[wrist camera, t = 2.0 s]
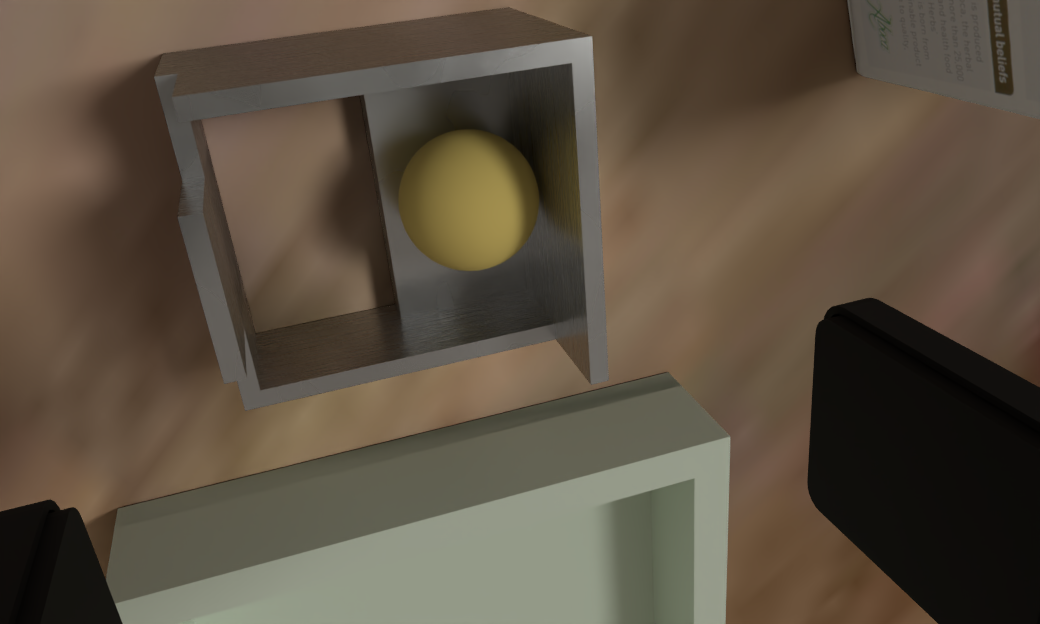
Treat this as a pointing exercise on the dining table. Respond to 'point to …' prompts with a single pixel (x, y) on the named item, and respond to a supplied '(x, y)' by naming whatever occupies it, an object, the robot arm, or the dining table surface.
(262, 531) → the tray
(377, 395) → the dining table surface
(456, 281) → the open shelf cabinet
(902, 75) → the syrup box
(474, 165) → the ball
